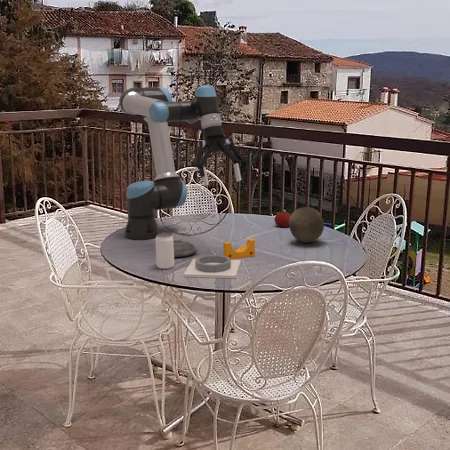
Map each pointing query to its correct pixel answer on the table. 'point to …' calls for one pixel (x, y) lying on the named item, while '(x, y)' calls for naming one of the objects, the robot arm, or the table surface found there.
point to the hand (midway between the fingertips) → (223, 183)
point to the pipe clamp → (240, 250)
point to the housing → (213, 267)
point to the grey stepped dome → (183, 248)
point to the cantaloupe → (306, 224)
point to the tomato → (282, 219)
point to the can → (164, 250)
